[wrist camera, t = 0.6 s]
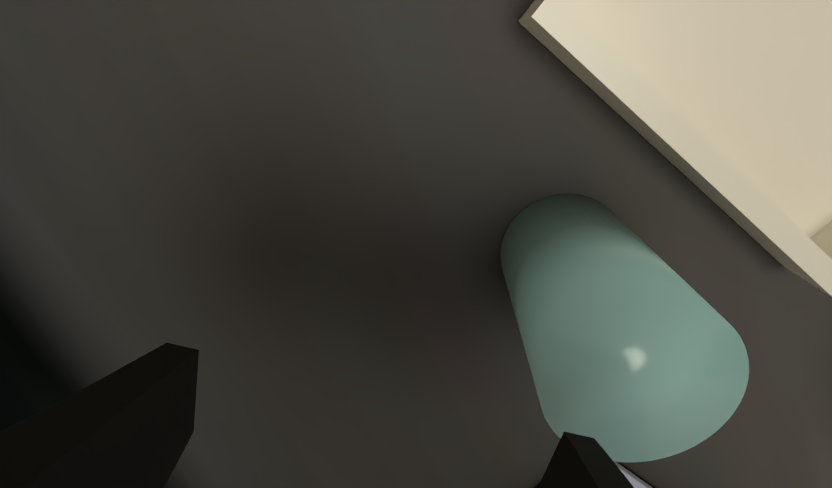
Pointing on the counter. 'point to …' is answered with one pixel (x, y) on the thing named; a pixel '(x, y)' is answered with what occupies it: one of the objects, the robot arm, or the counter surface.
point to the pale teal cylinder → (617, 334)
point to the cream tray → (720, 103)
